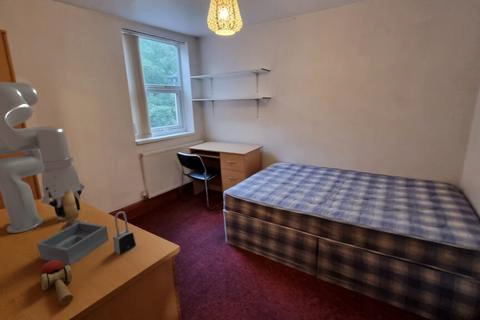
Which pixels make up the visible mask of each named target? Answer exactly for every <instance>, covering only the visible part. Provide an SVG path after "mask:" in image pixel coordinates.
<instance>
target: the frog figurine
mask: <svg viewBox="0 0 480 320" xmlns="http://www.w3.org/2000/svg"><path fill="white" fill-rule="evenodd" d="M78 222H82V221H81V220H80V219H75V220H72V221H69V222H65V224H64V230H65V229H66V228H68V227H70V226H72V225H74V224H76V223H78ZM84 223H89V221H88V220H84Z"/></svg>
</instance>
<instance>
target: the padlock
mask: <svg viewBox="0 0 480 320" xmlns="http://www.w3.org/2000/svg"><path fill="white" fill-rule="evenodd" d="M120 214H122V215H123V220H124V225H125V230H123V231H120V230H119V222H118V216H119V215H120ZM114 223H115V224H114V225H115V228H116V234H115V235H114V236H113V237H112V239H113V251H114V253H115V254H118V255H119V256H120V255H122V254H124V253H126V252H128V251H130V250H131V249H133V248H134V247H136V246H137V243H136V238H135V235H134V232H133V231H131V230H129V225H128V219H127V215H126V213H125V211H118V212H117V213H115V215H114Z"/></svg>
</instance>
